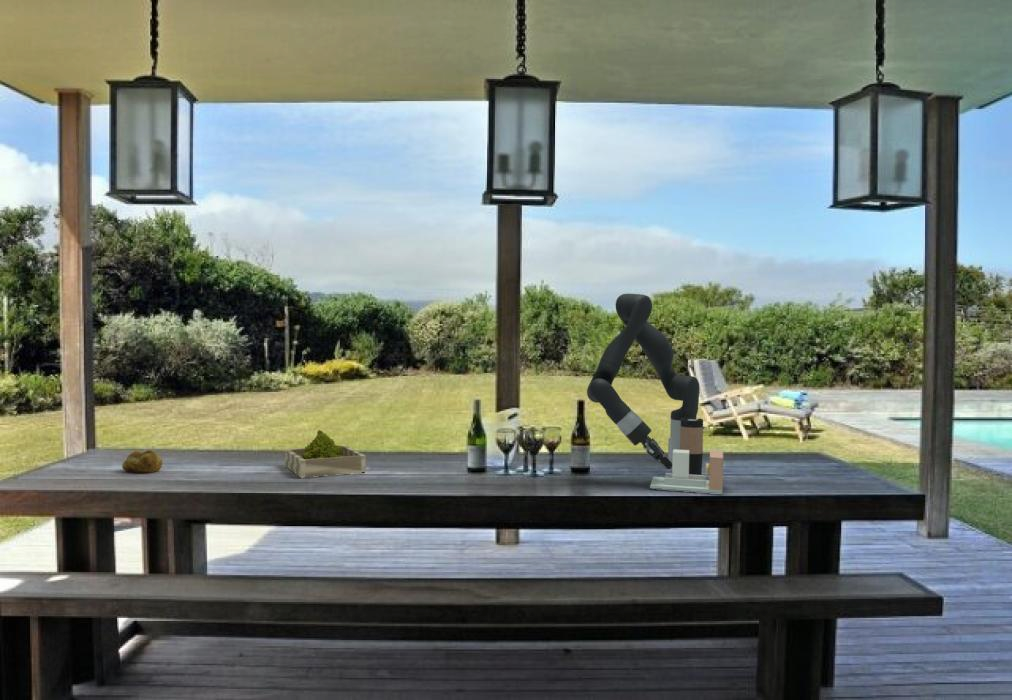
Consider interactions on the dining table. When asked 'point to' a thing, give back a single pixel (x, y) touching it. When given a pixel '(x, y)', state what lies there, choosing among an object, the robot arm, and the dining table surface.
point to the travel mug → (692, 443)
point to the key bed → (696, 477)
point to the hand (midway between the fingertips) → (670, 467)
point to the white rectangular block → (680, 464)
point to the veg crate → (325, 463)
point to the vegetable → (322, 448)
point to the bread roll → (142, 462)
